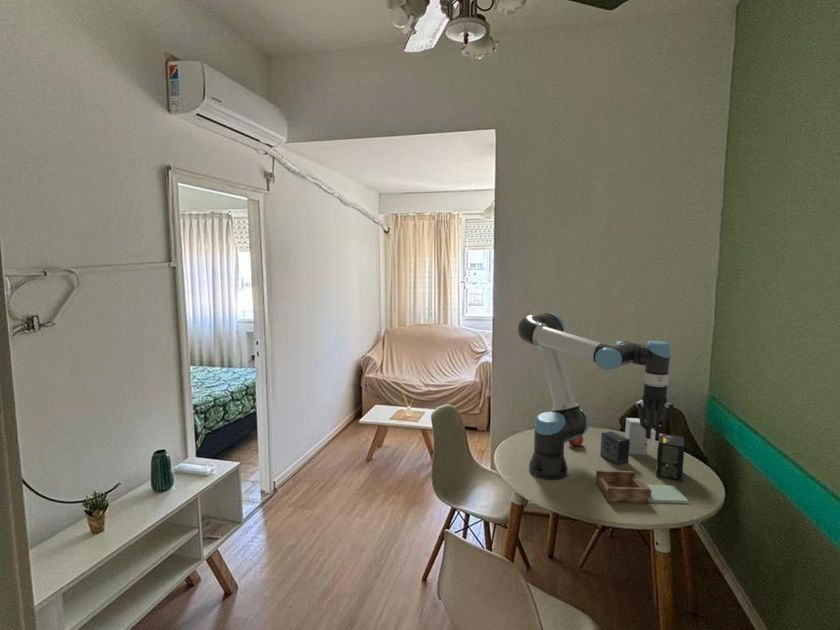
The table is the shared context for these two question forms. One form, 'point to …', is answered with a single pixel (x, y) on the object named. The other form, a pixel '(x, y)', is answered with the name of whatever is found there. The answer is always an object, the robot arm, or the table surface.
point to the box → (621, 487)
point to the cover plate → (664, 493)
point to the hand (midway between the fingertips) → (650, 446)
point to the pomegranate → (576, 441)
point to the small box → (615, 447)
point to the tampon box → (670, 457)
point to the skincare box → (636, 436)
